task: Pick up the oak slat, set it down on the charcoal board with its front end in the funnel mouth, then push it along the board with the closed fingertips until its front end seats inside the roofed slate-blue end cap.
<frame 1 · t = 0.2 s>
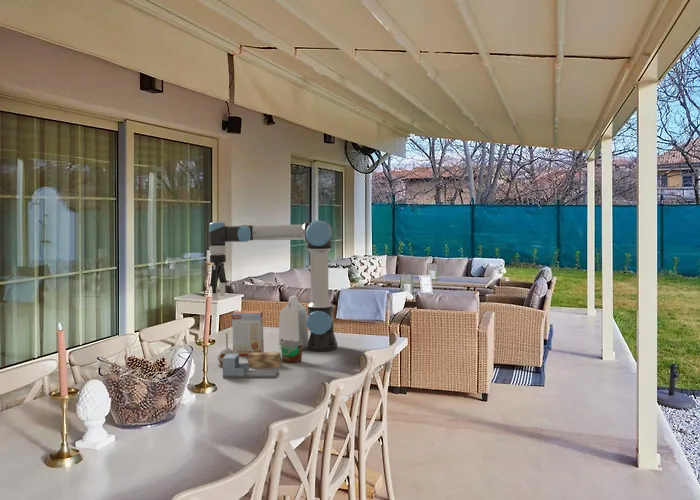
hand: (218, 298, 296), 28 cm above the table, tool pointing down, fingers open, 13 cm apart
cracker box: (248, 354, 298), on the table
milk: (293, 347, 313), on the table
food container: (289, 362, 282), on the table
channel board: (251, 375, 260), on the table
oak slat: (264, 366, 275), on the table
decorative ornament: (227, 366, 276), on the table
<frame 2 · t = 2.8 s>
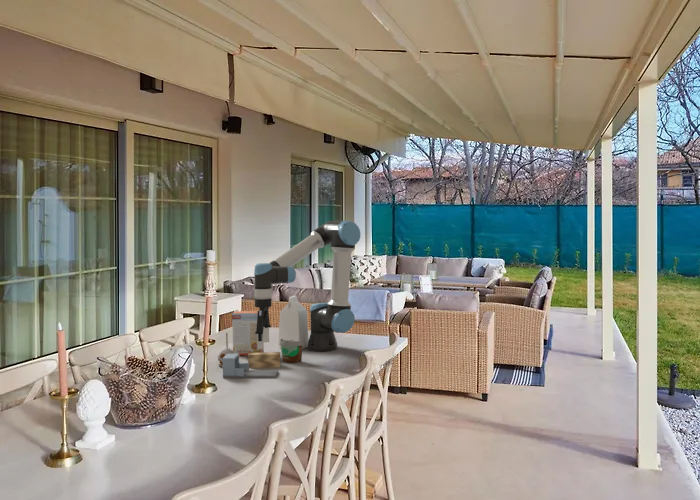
hand: (263, 345, 274), 10 cm above the table, tool pointing down, fingers open, 13 cm apart
nothing on the table moved.
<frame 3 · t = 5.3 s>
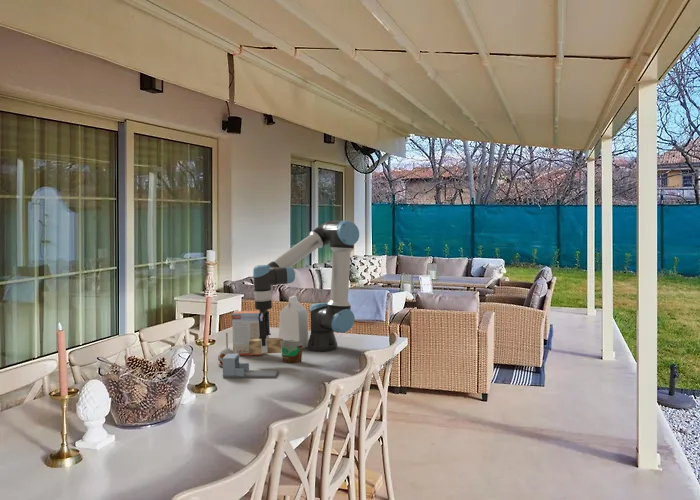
hand: (265, 351, 275), 7 cm above the table, tool pointing down, fingers closed on oak slat, 4 cm apart
oak slat: (265, 352, 275), point 6 cm above the table, touching gripper
everything else where it was.
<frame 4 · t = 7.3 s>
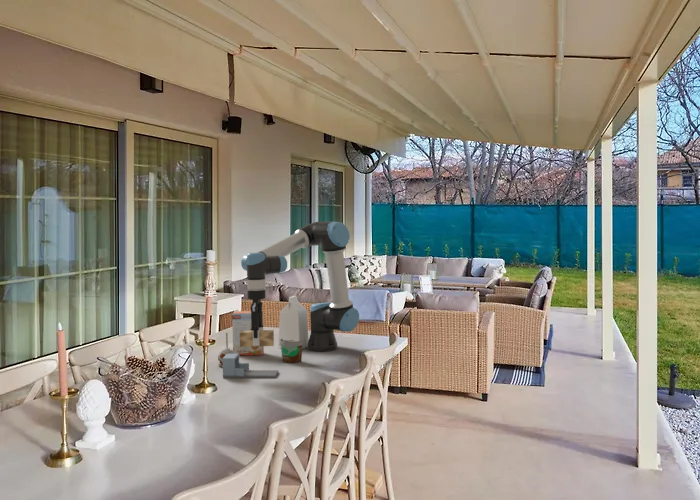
hand: (257, 344, 259), 13 cm above the table, tool pointing down, fingers closed on oak slat, 4 cm apart
oak slat: (257, 345, 259), point 13 cm above the table, touching gripper
everything else where it was.
when the fingers open (3 cm above the table, at t = 9.3 s): oak slat drops 1 cm, resting on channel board.
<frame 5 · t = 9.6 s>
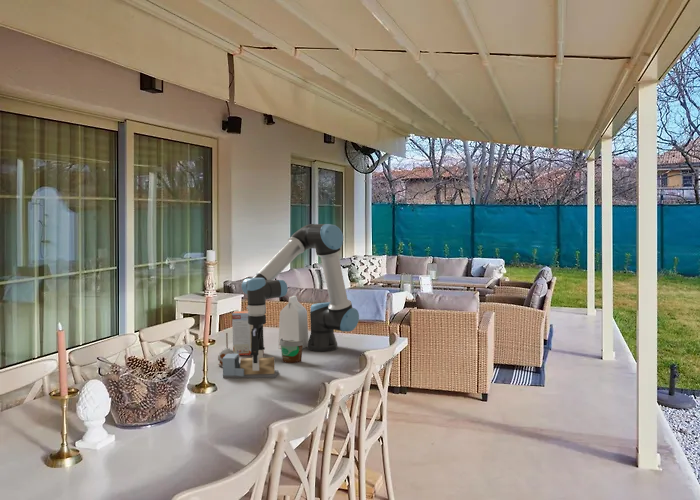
hand: (257, 367, 260), 3 cm above the table, tool pointing down, fingers open, 8 cm apart
oak slat: (257, 372, 260), point 1 cm above the table, touching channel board
everything else where it was.
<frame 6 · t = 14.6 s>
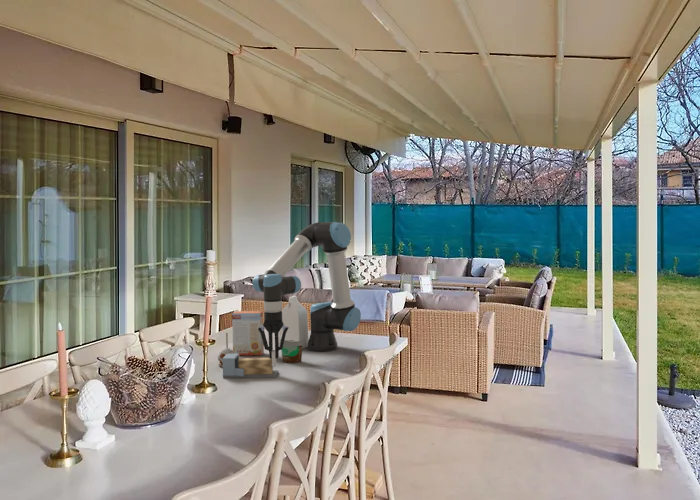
hand: (274, 366, 259), 4 cm above the table, tool pointing down, fingers closed
oak slat: (255, 372, 260), point 1 cm above the table, touching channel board, gripper
everything else where it was.
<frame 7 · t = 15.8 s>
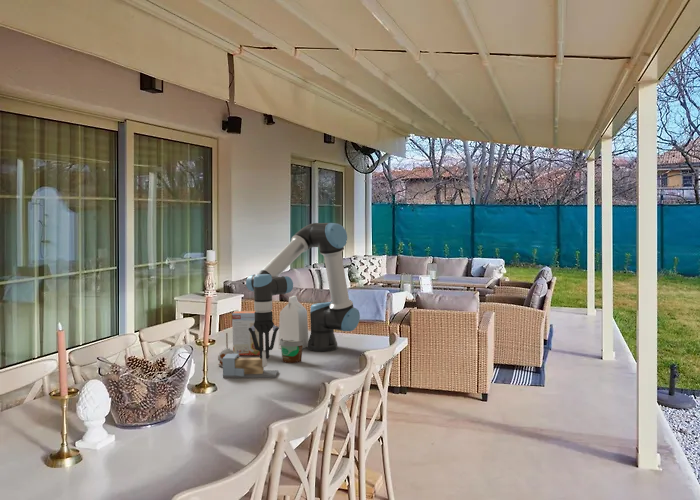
hand: (264, 366, 259), 4 cm above the table, tool pointing down, fingers closed
oak slat: (246, 372, 260), point 1 cm above the table, touching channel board, gripper
everything else where it was.
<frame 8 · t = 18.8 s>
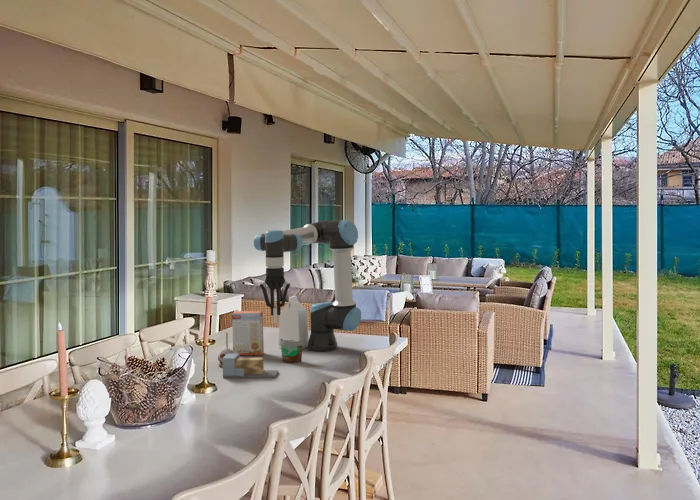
hand: (275, 322, 258), 22 cm above the table, tool pointing down, fingers closed
oak slat: (246, 372, 260), point 1 cm above the table, touching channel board
everything else where it was.
at the end: oak slat 0.8 cm from the target spot on the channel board, point 1.0 cm above the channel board's base; oak slat tilted 0°; the gripper is holding nothing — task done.
